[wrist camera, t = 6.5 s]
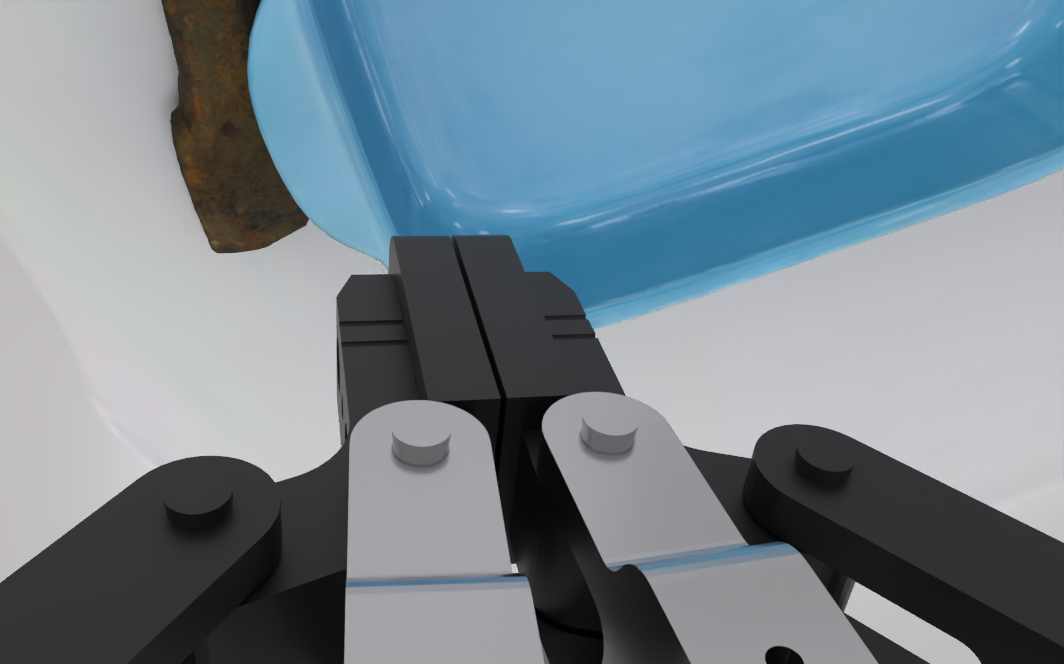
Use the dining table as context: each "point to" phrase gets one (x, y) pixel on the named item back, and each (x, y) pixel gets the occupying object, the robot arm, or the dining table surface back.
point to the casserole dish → (653, 127)
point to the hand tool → (224, 129)
